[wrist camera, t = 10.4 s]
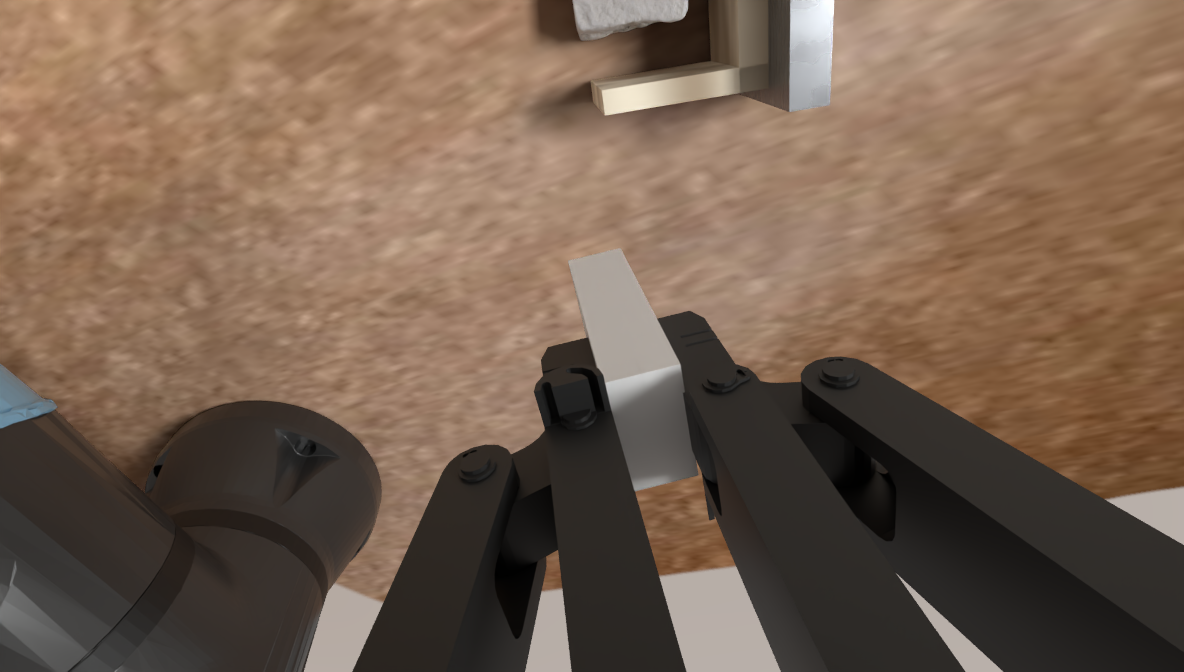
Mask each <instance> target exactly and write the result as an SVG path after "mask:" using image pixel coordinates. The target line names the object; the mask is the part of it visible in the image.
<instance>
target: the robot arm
mask: <svg viewBox="0 0 1184 672" xmlns="http://www.w3.org/2000/svg"><path fill="white" fill-rule="evenodd" d="M568 263H569V267H570V271H571V275H572V279H573V283H574V288H575V292H576V296H577V300H578V304H579V308H580V312H581V317H582V321H583V325H584V329H585V333H586V337H587V338H584V339H580V340H575V341H571V342H567V343H563V344H559V345H555V346H551V347H548V348H547V350H546V352H545V354H544V355H543V357H542V359H541V364H542V372H543V377H542V378H541V379H540V380H539V381H538V382H537V383H536V386H535V390H534V393H535V397H536V400H537V403H538V407H539V410H540V413H541V417H542V420H543V423H544V427H545V431H544V432H543V433H542V435H541V436H540V437H539V438H538V439H537V440H536V441H534V442H533V443H532V444H530V445H529V446H527V447H525V448H524V449H522V450H520V451H518V452H516V453H513V454H510V453H509V451H508V450H507V449H506V448H503V447H501V446H499V445H482V446H478V447H474V448H471V449H469V450H467V451H465V452H463V453H460V454H459V455H458V456H457V457H455V458H454V459H453V460H451V461H450V462H449V464H448V465H447V466H446V468H445V469H444V471H443V473H442V475H441V477H440V479H439V481H438V484H437V486H436V488H435V490H434V492H433V495H432V497H431V499H430V501H429V503H428V506H427V508H426V510H425V512H424V515H423V517H422V519H421V521H420V523H419V526H418V528H417V530H416V532H415V534H414V537H413V539H412V541H411V543H410V545H409V548H408V550H407V552H406V554H405V557H404V559H403V561H402V563H401V565H400V568H399V570H398V572H397V574H396V576H395V579H394V581H393V583H392V585H391V587H390V590H389V592H388V594H387V596H386V598H385V601H384V603H383V605H382V607H381V610H380V612H379V614H378V616H377V618H376V621H375V623H374V625H373V627H372V630H371V632H370V634H369V636H368V638H367V640H366V643H365V645H364V647H363V649H362V652H361V654H360V656H359V658H358V660H357V663H356V665H355V667H354V669H353V672H525V669H526V664H527V659H528V654H529V649H530V644H531V639H532V635H533V630H534V625H535V620H536V615H537V610H538V605H539V600H540V595H541V591H542V586H543V581H544V576H545V571H546V556H548V555H549V554H551V553H553V552H555V551H557V550H558V552H559V561H560V570H561V579H562V588H563V597H564V605H565V615H566V623H567V633H568V642H569V650H570V660H571V669H572V672H686V669H685V666H684V662H683V658H682V655H681V652H680V648H679V645H678V641H677V638H676V634H675V630H674V627H673V624H672V620H671V617H670V613H669V610H668V606H667V603H666V599H665V596H664V592H663V589H662V585H661V582H660V578H659V575H658V571H657V568H656V564H655V561H654V557H653V554H652V550H651V547H650V543H649V540H648V536H647V533H646V529H645V526H644V522H643V519H642V515H641V512H640V508H639V505H638V501H637V498H636V494H635V491H638V490H642V489H646V488H650V487H654V486H658V485H662V484H666V483H669V482H673V481H677V480H681V479H685V478H689V477H693V476H697V475H698V470H697V464H696V460H697V463H698V465H699V467H700V469H701V472H702V477H703V483H704V490H705V496H706V502H707V509H708V515H709V520H713V519H715V517H716V520H717V522H718V524H719V527H720V529H721V531H722V534H723V536H724V538H725V541H726V543H727V546H728V548H729V550H730V553H731V555H732V557H733V560H734V562H735V564H736V567H737V569H738V571H739V574H740V576H741V578H742V581H743V583H744V585H745V588H746V590H747V593H748V595H749V597H750V600H751V602H752V604H753V607H754V609H755V611H756V614H757V616H758V618H759V620H760V623H761V625H762V628H763V630H764V633H765V635H766V637H767V640H768V642H769V644H770V647H771V649H772V651H773V654H774V656H775V659H776V661H777V663H778V666H779V668H780V670H781V672H965V671H964V669H963V668H962V666H961V665H960V663H959V662H958V661H957V659H956V658H955V656H954V655H953V654H952V652H951V651H950V649H949V648H948V646H947V645H946V644H945V642H944V641H943V640H942V638H941V636H940V635H939V634H938V632H937V631H936V629H935V628H934V627H933V625H932V624H931V622H930V621H929V620H928V618H927V617H926V615H925V614H924V612H923V611H922V610H921V608H920V607H919V605H918V604H917V602H916V601H915V600H914V598H913V597H912V595H911V594H910V593H909V591H908V590H907V588H906V587H905V586H904V584H903V583H902V581H901V580H900V578H899V577H898V576H897V574H898V575H899V576H900V577H901V578H902V579H903V580H904V581H905V582H906V583H908V584H909V585H910V586H911V587H912V588H913V589H914V590H915V591H916V592H917V593H918V594H920V595H921V596H922V597H923V598H924V599H925V600H926V601H927V602H928V603H929V604H930V605H932V606H933V607H934V608H935V609H936V610H937V611H938V612H939V613H940V614H941V615H943V616H944V617H945V618H946V619H947V620H948V621H949V622H950V623H951V624H952V625H953V626H954V627H956V628H957V629H958V630H959V631H960V632H961V633H962V634H963V635H964V636H965V637H966V638H967V639H969V640H970V641H971V642H972V643H973V644H974V645H975V646H976V647H977V648H978V649H979V650H980V651H982V652H983V653H984V654H985V655H986V656H987V657H988V658H989V659H990V660H991V661H993V663H995V664H996V665H997V666H998V667H999V668H1000V669H1001V670H1002V671H1003V672H1184V545H1183V544H1181V543H1179V542H1177V541H1176V540H1174V539H1172V538H1170V537H1169V536H1167V535H1165V534H1163V533H1162V532H1160V531H1158V530H1156V529H1155V528H1153V527H1151V526H1150V525H1148V524H1146V523H1144V522H1143V521H1141V520H1139V519H1137V518H1136V517H1134V516H1132V515H1130V514H1129V513H1127V512H1125V511H1123V510H1122V509H1120V508H1118V507H1116V506H1115V505H1113V504H1111V503H1110V502H1108V501H1106V500H1104V499H1103V498H1101V497H1099V496H1097V495H1096V494H1094V493H1092V492H1090V491H1089V490H1087V489H1085V488H1083V487H1082V486H1080V485H1078V484H1077V483H1075V482H1073V481H1071V480H1070V479H1068V478H1066V477H1064V476H1063V475H1061V474H1059V473H1057V472H1056V471H1054V470H1052V469H1050V468H1049V467H1047V466H1045V465H1044V464H1042V463H1040V462H1038V461H1037V460H1035V459H1033V458H1031V457H1030V456H1028V455H1026V454H1024V453H1023V452H1021V451H1019V450H1017V449H1016V448H1014V447H1012V446H1010V445H1009V444H1007V443H1005V442H1004V441H1002V440H1000V439H998V438H997V437H995V436H993V435H991V434H990V433H988V432H986V431H984V430H983V429H981V428H979V427H977V426H976V425H974V424H972V423H970V422H969V421H967V420H965V419H964V418H962V417H960V416H958V415H957V414H955V413H953V412H951V411H950V410H948V409H946V408H944V407H943V406H941V405H939V404H937V403H936V402H934V401H932V400H930V399H929V398H927V397H925V396H924V395H922V394H920V393H918V392H917V391H915V390H913V389H911V388H910V387H908V386H906V385H904V384H903V383H901V382H899V381H897V380H896V379H894V378H892V377H891V376H889V375H887V374H885V373H884V372H882V371H880V370H878V369H877V368H875V367H873V366H871V365H870V364H868V363H865V362H863V361H860V360H858V359H854V358H847V357H828V358H824V359H820V360H817V361H814V362H812V363H811V364H809V365H807V366H806V367H805V368H804V370H803V371H802V373H801V382H791V383H768V382H762V381H760V380H759V379H758V377H757V376H756V374H754V373H753V372H752V371H751V370H750V369H748V368H746V367H743V366H740V365H736V364H735V363H734V361H733V360H732V358H731V357H730V355H729V354H728V352H727V351H726V349H725V348H724V347H723V345H722V344H721V342H720V341H719V339H717V336H716V335H715V333H714V332H713V330H711V327H710V326H709V324H708V323H707V321H706V320H705V318H703V317H701V316H699V315H697V314H695V313H693V312H691V311H687V312H683V313H679V314H675V315H671V316H667V317H663V318H659V319H657V318H656V316H655V314H654V312H653V310H652V308H651V306H650V304H649V302H648V301H647V299H646V297H645V295H644V293H643V291H642V289H641V287H640V285H639V283H638V281H637V279H636V277H635V275H634V273H633V272H632V270H631V268H630V266H629V264H628V262H627V260H626V258H625V256H624V254H623V252H622V250H621V248H618V249H614V250H610V251H606V252H602V253H598V254H594V255H590V256H586V257H581V258H577V259H573V260H569V261H568ZM56 408H58V407H57V406H56V404H55V403H54V402H53V401H52V400H51V399H44V398H42V397H40V396H39V395H38V394H37V393H36V392H34V391H33V390H32V389H31V388H29V387H28V386H27V385H26V384H25V383H23V382H22V381H21V380H20V379H19V378H17V377H16V376H15V375H14V374H12V373H11V372H10V371H9V370H8V369H6V368H5V367H4V366H3V365H2V364H0V672H304V668H305V664H306V661H307V658H308V655H309V651H310V648H311V645H312V641H313V638H314V634H315V631H316V628H317V624H318V621H319V617H320V614H321V611H322V608H323V605H324V602H325V598H326V595H327V593H328V591H329V589H330V588H331V587H332V586H333V584H334V583H335V581H336V580H337V579H338V577H339V576H340V575H341V573H342V572H343V571H344V569H345V568H346V566H347V565H348V564H349V562H350V561H351V560H352V559H353V558H354V557H355V556H356V555H357V554H358V553H359V552H360V550H361V549H362V548H363V547H364V545H365V544H366V542H367V541H368V539H369V537H370V535H371V533H372V531H373V528H374V525H375V521H376V518H377V514H378V510H379V506H380V502H381V493H382V490H381V480H380V476H379V473H378V470H377V467H376V465H375V463H374V461H373V459H372V457H371V456H370V454H369V453H368V451H367V450H366V449H365V447H364V446H363V445H362V444H361V443H360V442H359V441H358V440H357V439H356V438H355V437H354V436H353V435H352V434H351V433H350V432H348V431H347V430H346V429H344V428H343V427H342V426H340V425H339V424H337V423H335V422H334V421H332V420H330V419H328V418H326V417H324V416H322V415H320V414H318V413H315V412H313V411H310V410H307V409H304V408H301V407H297V406H294V405H289V404H284V403H277V402H267V401H248V402H238V403H232V404H227V405H223V406H219V407H216V408H213V409H210V410H208V411H206V412H203V413H201V414H199V415H198V416H196V417H194V418H193V419H191V420H190V421H188V422H187V423H186V424H184V425H183V426H182V427H181V428H180V429H179V430H178V431H177V432H176V433H175V434H174V435H173V437H172V438H171V439H170V441H169V442H168V443H167V444H166V446H165V447H164V448H163V449H162V451H161V452H160V453H159V455H158V456H157V458H156V460H155V461H154V463H153V465H152V467H151V469H150V472H149V475H148V478H147V483H146V488H145V493H144V492H143V491H142V490H140V489H139V488H138V487H137V486H136V485H135V484H134V483H133V482H132V481H131V480H130V479H129V478H128V477H126V476H125V475H124V474H123V473H122V472H121V471H120V470H119V469H118V468H117V467H116V466H115V465H114V464H112V463H111V462H110V461H109V460H108V459H107V458H106V457H105V456H104V455H103V454H102V453H101V452H100V451H98V450H97V449H96V448H95V447H94V446H93V445H92V444H91V443H90V442H89V441H88V440H87V439H85V438H84V437H83V436H82V435H81V434H80V433H79V432H78V431H77V430H76V429H75V428H74V427H73V426H72V425H71V424H70V423H68V422H67V421H66V420H65V419H64V418H63V417H62V416H61V415H60V414H59V413H58V412H57V411H56V410H55V409H56ZM714 515H715V517H714ZM895 572H896V573H897V574H896V573H895Z"/></svg>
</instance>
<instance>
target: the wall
mask: <svg viewBox="0 0 1184 672" xmlns="http://www.w3.org/2000/svg"><path fill="white" fill-rule="evenodd" d="M833 13H834V0H768V67H769V88H767V89H761V90H755V91H749V92H743V93H738V94H740V95H743V96H746V97H749V98H752V99H754V100H757V101H760V102H763V103H766V104H768V105H771V106H774V107H777V108H780V109H782V110H785V111H788V112H792V111H798V110H804V109H810V108H816V107H822V106H828V105H830V89H831V64H832V39H833Z"/></svg>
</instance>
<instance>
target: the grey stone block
mask: <svg viewBox="0 0 1184 672" xmlns="http://www.w3.org/2000/svg"><path fill="white" fill-rule="evenodd" d="M572 2H573V9H574V15H575V23H576V28H577V31H578V33H579V37H580V39H581V40H582V41H586V40H587V41H588V40H597V39H601V38H604V37H606V36H608V35H609V34H612V33H617V32H627V31H629V30H632V29H635V28H637V27H640V28H642V27H645V26H647V25H650V24H652V23H655V22H668V23H672V22H676V21H679V20H681V19H683V18H684V17H685V15H686V12H687V10H688V0H572Z"/></svg>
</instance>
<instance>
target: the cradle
mask: <svg viewBox="0 0 1184 672" xmlns="http://www.w3.org/2000/svg"><path fill="white" fill-rule="evenodd" d="M708 6H709V28H710V50H711V61H707V62H701V63H695V64H689V65H683V66H677V67H670V68H664V69H658V70H652V71H646V72H640V73H634V74H628V75H622V76H616V77H610V78H604V79H598V80H591V89H592V96H593V103H594V104H595V105H596V106H597V107H598V108H599V110H600V111H601V112H602V113H603V114H604V115H611V114H617V113H623V112H629V111H635V110H641V109H647V108H653V107H659V106H665V105H671V104H677V103H683V102H689V101H695V100H701V99H707V98H713V97H719V96H725V95H731V94H737V93H743V92H749V91H755V90H761V89H767V88H769V67H768V0H708Z"/></svg>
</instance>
